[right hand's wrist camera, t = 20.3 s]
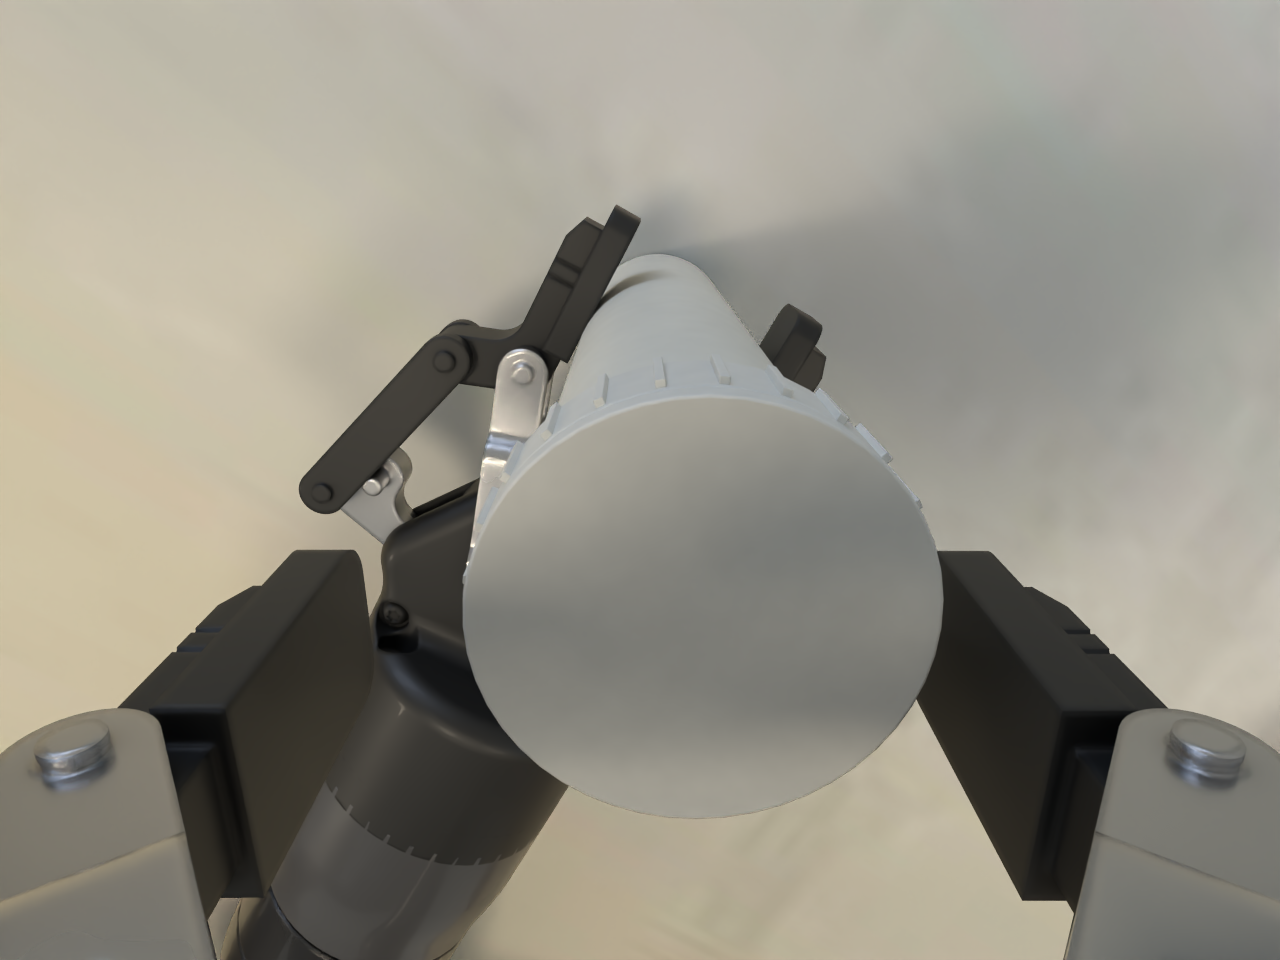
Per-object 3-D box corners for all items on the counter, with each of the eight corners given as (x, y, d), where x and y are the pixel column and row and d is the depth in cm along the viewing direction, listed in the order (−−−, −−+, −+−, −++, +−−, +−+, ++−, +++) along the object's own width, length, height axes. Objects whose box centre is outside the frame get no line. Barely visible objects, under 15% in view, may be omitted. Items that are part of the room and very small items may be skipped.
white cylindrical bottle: (751, 315, 27) (970, 572, 9) (663, 414, 28) (710, 808, 10) (649, 224, 26) (680, 319, 8) (562, 330, 27) (429, 611, 9)
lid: (468, 713, 11) (441, 800, 9) (498, 322, 9) (470, 352, 8) (851, 755, 11) (885, 847, 10) (952, 384, 9) (1014, 423, 8)
